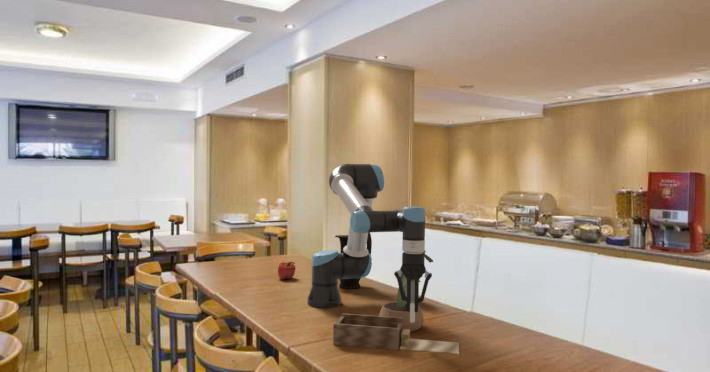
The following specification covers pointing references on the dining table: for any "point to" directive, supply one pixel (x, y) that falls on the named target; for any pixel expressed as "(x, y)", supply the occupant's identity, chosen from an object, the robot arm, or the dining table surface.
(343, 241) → the jug
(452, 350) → the lid
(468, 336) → the dining table surface
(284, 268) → the vegetable
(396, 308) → the potted plant
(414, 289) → the skincare box
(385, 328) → the box
